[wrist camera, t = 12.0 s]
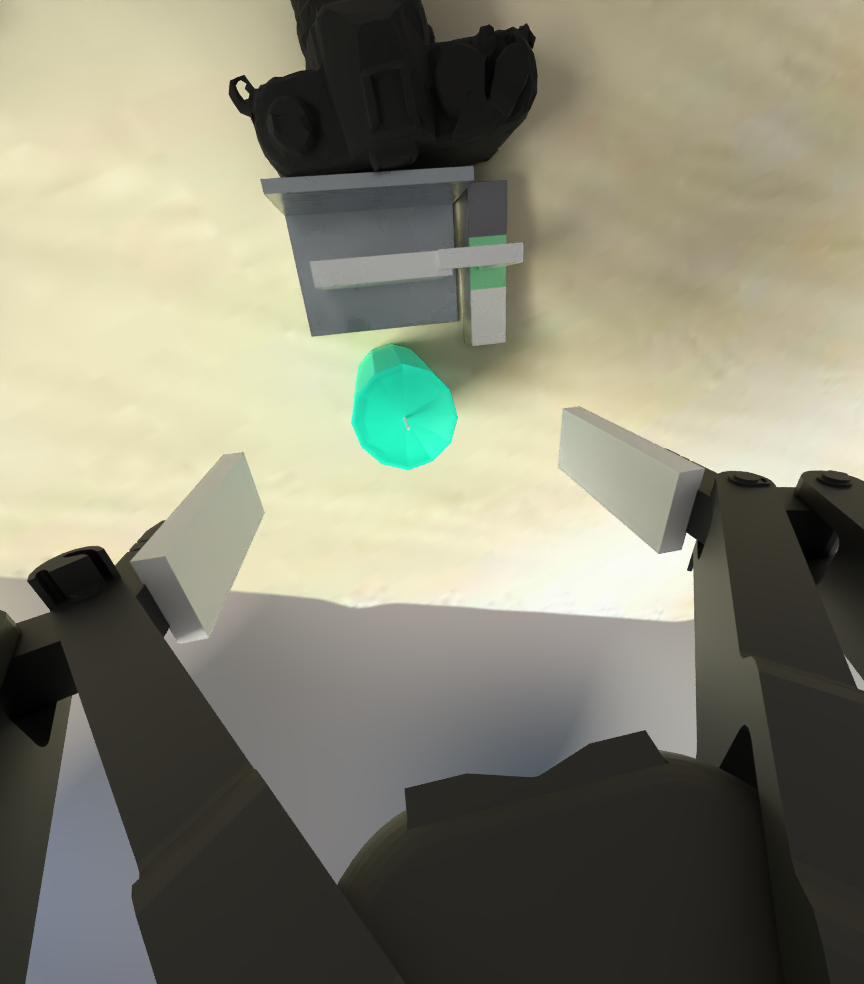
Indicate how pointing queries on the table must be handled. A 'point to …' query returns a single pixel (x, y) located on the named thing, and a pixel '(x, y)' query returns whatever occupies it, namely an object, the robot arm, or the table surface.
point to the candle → (401, 408)
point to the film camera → (389, 92)
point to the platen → (410, 266)
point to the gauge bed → (396, 246)
